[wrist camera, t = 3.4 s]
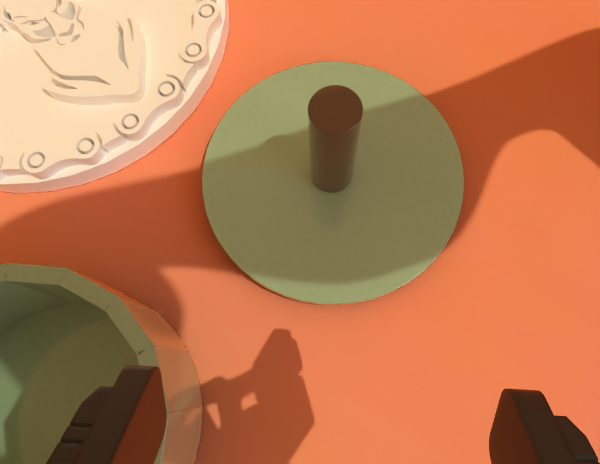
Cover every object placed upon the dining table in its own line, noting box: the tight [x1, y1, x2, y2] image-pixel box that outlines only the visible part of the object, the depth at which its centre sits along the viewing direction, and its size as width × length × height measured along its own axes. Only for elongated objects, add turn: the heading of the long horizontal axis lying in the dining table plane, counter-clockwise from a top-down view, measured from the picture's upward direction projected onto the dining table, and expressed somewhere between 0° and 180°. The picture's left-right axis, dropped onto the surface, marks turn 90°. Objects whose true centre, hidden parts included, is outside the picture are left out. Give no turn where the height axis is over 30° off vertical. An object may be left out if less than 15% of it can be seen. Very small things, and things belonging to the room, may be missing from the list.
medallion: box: [0, 0, 229, 193], centre depth 32 cm, size 24×27×2 cm
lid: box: [202, 62, 464, 305], centre depth 25 cm, size 15×15×8 cm
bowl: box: [0, 263, 203, 464], centre depth 23 cm, size 14×14×6 cm
